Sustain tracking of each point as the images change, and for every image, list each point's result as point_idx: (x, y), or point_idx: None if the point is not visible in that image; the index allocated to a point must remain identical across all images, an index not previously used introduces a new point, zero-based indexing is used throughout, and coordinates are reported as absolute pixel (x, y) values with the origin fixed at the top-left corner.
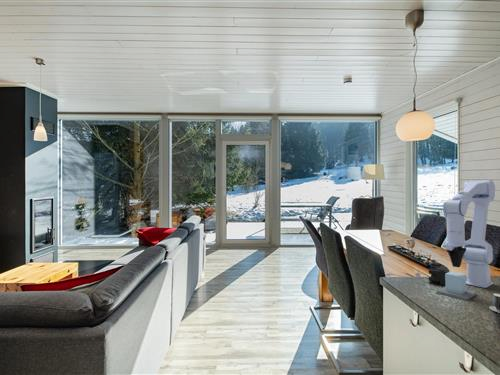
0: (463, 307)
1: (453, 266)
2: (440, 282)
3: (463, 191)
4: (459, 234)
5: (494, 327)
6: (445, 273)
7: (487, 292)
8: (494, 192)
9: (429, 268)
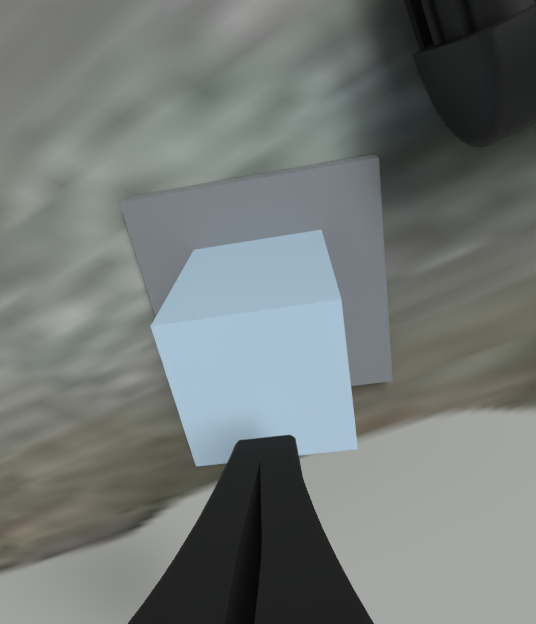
0: (47, 437)
1: (237, 448)
2: (419, 59)
3: None
4: None
5: None
6: (484, 120)
7: (513, 384)
8: None
9: None
